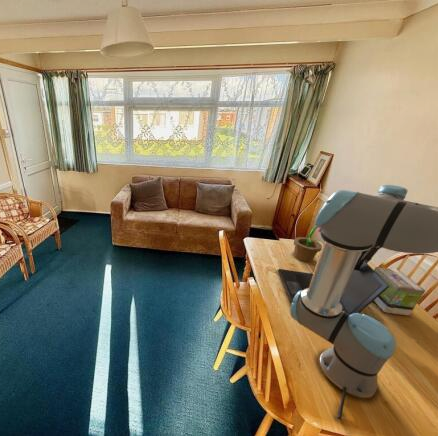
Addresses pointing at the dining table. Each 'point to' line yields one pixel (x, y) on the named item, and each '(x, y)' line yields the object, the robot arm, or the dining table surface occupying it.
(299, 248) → the flowerpot
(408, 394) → the dining table surface
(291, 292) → the laptop
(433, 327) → the dining table surface
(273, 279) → the dining table surface
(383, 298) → the tea box
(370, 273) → the laptop screen
